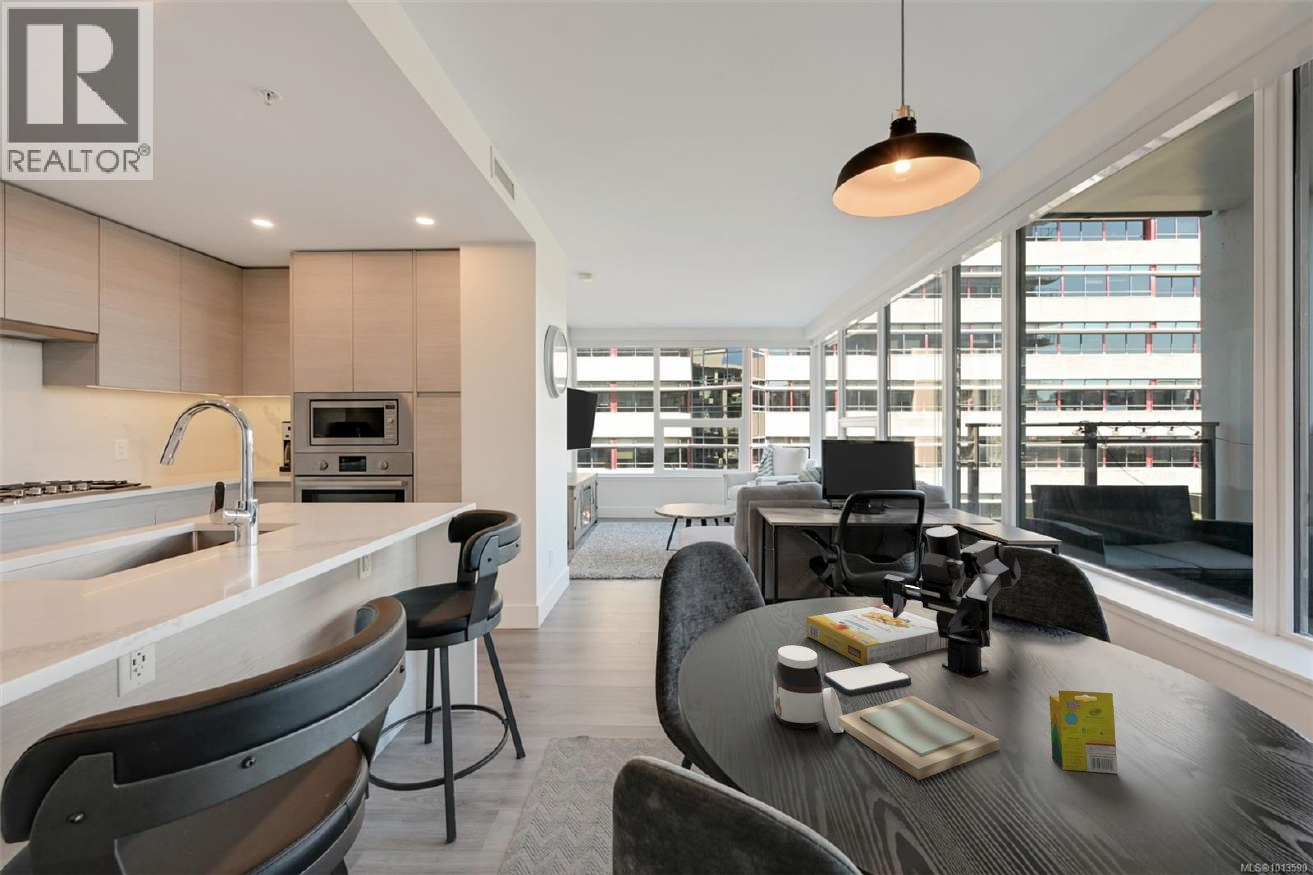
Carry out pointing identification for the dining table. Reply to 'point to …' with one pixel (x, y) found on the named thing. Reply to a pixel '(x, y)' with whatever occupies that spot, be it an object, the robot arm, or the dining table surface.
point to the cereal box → (875, 634)
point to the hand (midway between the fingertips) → (920, 622)
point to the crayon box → (1083, 731)
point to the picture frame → (918, 736)
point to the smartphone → (867, 678)
